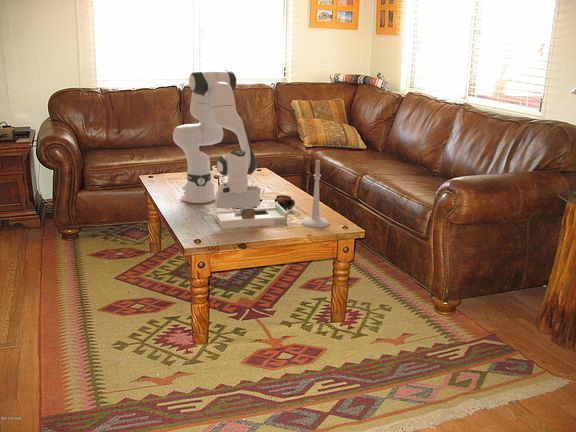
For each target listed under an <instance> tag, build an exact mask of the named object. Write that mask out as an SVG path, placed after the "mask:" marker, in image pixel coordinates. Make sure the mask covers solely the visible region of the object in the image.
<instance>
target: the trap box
mask: <svg viewBox="0 0 576 432" xmlns="http://www.w3.org/2000/svg"><path fill="white" fill-rule="evenodd" d="M274 204H275V205H274V206H272V207H271V206H270V207H256V208H254V207H253V208H254V210H255V218H251V219H243V218H242V213H241V217H235V216H234V211H233V210H232V209H225V210H224V209H223V210H214V211H215V212H214V214H215V216H214V218H215V220H216V222H217V223H218V224H219V226H220V228H221V230H223V229H235V228H236V229H237V228H251V227H263V226H264V227H265V226H267V227H268V226H279V225H287V224H288V212H287V211H285V210H284V209H283V208H282V207H281V206H280V205H279V204H278V202H274ZM235 211H236V212H239V211H240V208H238V209H237V208H236V210H235Z"/></svg>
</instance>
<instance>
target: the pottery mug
mask: <svg viewBox="0 0 576 432" xmlns="http://www.w3.org/2000/svg"><path fill="white" fill-rule="evenodd" d="M275 197H276V198H275V199H274V203H278V204H279V205H280V206H281V207H282V208H283V209H284V210H285V211H286V212H287V210H288V211H290V210H292V208H293V207H294V206H295V204H296V202H295V200H294V199H292V197H291V196H290V195H285V194H282V195H276V196H275Z"/></svg>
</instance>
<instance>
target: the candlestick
mask: <svg viewBox="0 0 576 432" xmlns="http://www.w3.org/2000/svg"><path fill="white" fill-rule="evenodd" d="M314 167H315V168H314V169H315V171H314V174H313V177H314V178H313V179H314V188H313V197H312V209H311V210H312V211H311V216H308V217H305V218H303V219H302V220H301V222H300V224H301V225H302V226H304V227H308V228H311V229H312V228H313V229H314V228H315V229H321V228H322V227H323V228H326V226H327V227H328V226H329V225H330V221H328V220H327V218H324V217H322V216H321V215H320V179H321V176H322V174H320V170H321V160H319V159H316V160H315V166H314ZM320 216H321V217H320Z"/></svg>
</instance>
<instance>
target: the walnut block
mask: <svg viewBox="0 0 576 432" xmlns="http://www.w3.org/2000/svg"><path fill="white" fill-rule="evenodd" d="M242 218H243V219H251V218H255V210H254V207H244V210H243V211H242Z"/></svg>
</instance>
